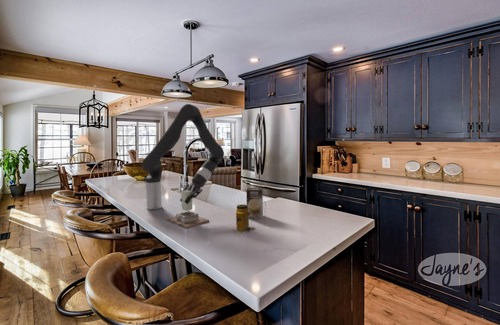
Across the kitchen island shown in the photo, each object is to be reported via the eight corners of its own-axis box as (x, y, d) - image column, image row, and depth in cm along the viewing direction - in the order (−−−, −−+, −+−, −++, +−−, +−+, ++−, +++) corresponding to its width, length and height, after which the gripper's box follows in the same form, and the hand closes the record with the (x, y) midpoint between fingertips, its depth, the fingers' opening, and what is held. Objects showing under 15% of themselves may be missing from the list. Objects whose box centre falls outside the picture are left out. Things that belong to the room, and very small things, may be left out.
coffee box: (246, 218, 145) (245, 189, 143) (247, 215, 151) (246, 187, 150) (262, 218, 144) (262, 190, 142) (263, 215, 150) (262, 187, 149)
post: (182, 209, 141) (181, 191, 140) (188, 207, 144) (187, 190, 143) (186, 210, 138) (185, 192, 138) (192, 209, 141) (191, 191, 140)
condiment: (232, 230, 127) (232, 205, 126) (244, 225, 133) (243, 202, 132) (243, 233, 122) (243, 208, 121) (255, 228, 129) (254, 204, 128)
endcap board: (166, 220, 144) (166, 212, 144) (188, 214, 154) (188, 207, 153) (186, 228, 130) (185, 220, 130) (208, 221, 140) (208, 214, 139)
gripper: (190, 171, 150) (172, 196, 142) (205, 173, 140) (186, 200, 132) (198, 179, 154) (181, 204, 147) (213, 182, 144) (195, 208, 137)
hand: (183, 202), depth 140 cm, fingers closed on post, 4 cm apart
